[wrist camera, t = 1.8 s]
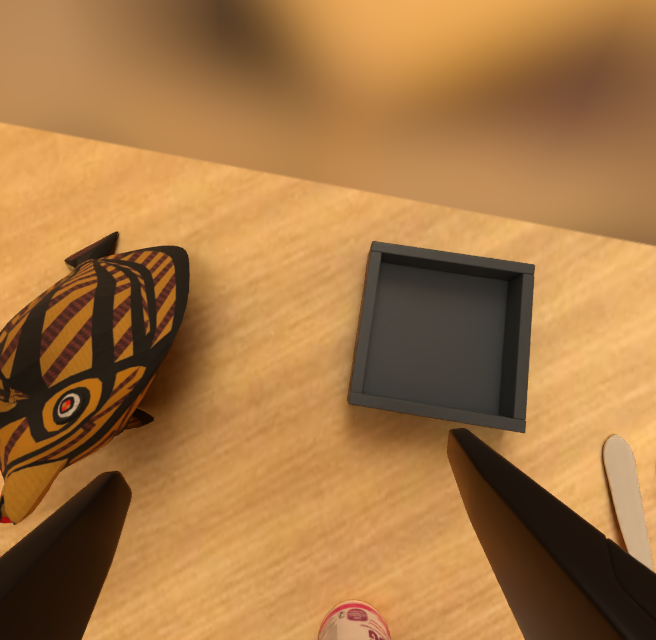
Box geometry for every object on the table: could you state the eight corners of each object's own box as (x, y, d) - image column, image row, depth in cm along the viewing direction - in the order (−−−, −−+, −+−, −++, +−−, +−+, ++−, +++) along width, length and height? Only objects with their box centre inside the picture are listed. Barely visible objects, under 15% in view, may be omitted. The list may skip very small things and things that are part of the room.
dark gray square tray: (504, 426, 23) (525, 433, 21) (346, 400, 24) (348, 404, 21) (515, 274, 25) (535, 264, 22) (368, 253, 25) (372, 240, 23)
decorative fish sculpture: (-10, 407, 24) (-325, 440, 12) (90, 220, 26) (-98, 103, 15) (157, 480, 23) (-17, 589, 11) (246, 279, 25) (174, 203, 14)
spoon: (627, 784, 20) (654, 821, 18) (584, 434, 23) (603, 439, 21) (696, 785, 19) (729, 823, 18) (642, 434, 23) (666, 439, 21)
